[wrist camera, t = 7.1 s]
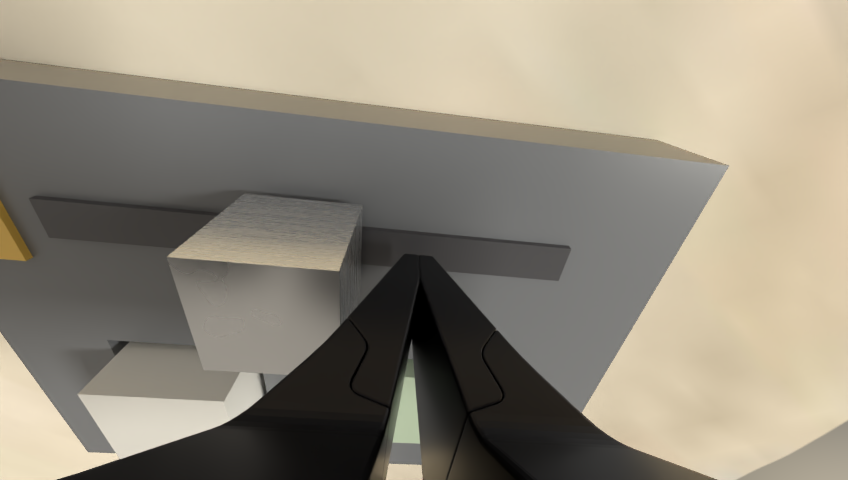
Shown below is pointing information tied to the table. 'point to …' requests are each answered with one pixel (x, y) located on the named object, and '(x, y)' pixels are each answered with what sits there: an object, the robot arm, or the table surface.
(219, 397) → the offwhite button
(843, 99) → the table surface
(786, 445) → the table surface
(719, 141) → the table surface
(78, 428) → the control panel
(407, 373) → the sage button
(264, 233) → the slider knob
